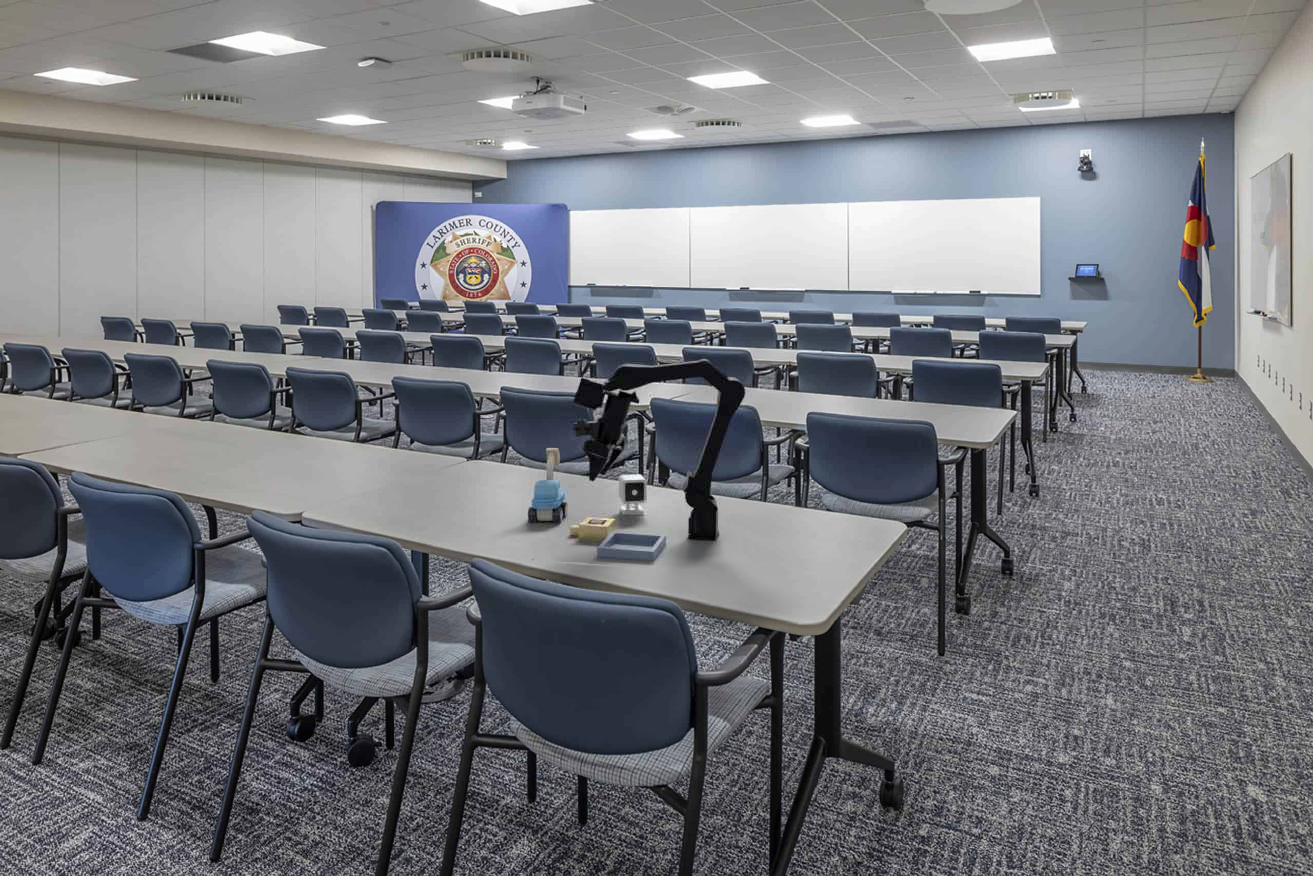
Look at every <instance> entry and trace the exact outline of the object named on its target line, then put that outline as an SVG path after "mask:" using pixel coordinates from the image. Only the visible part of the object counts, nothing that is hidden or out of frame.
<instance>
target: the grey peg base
mask: <svg viewBox="0 0 1313 876" xmlns="http://www.w3.org/2000/svg"><path fill="white" fill-rule="evenodd" d="M604 523H605V520H594V519H593V520H592V521H591V522H590V523H589V524H600V525H603V524H604ZM573 541H578V542H579V541H581V542H582V541H583V542H592V543H593V542H597V543H602V542H603V541H600V540H585V539H579V536H575V538H574V539H573Z"/></svg>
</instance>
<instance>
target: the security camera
mask: <svg viewBox="0 0 1313 876" xmlns="http://www.w3.org/2000/svg"><path fill="white" fill-rule="evenodd" d="M647 484H648V483H647V480H646V479H645V477H644V476H643V475H642V474H639V473H638V474H621V475H619V476H618V497H619V499H620V500H621V502H622V504H624V505H620V506H619V511H620V513H621V512H622V513H621V515H622V514H623V515H622V516H634V515H636V516H645V512H644V508H643V507H642V505H639V504H644V503H647V496H648V495H647V486H648V485H647ZM630 504H631V506H630ZM632 504H634V505H632Z"/></svg>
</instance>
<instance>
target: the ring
mask: <svg viewBox="0 0 1313 876" xmlns="http://www.w3.org/2000/svg"><path fill="white" fill-rule="evenodd" d="M593 519H594V520H605V523H604V524H603V525H600V524H589V523H590V522H591V521H592V520H593ZM612 532H616V519H615V518H606V517H604V518H603V517H591V516H590V517H588V516H587V517H586V518H585V519H583V521H581V522H580V523H579V524H573V525H571V526H569V533H570V534H569V535H570V536H575V537H577V536H579V539H585V540H600V541H604V540H605V539H606V538H607V537H608V536H609V535H610V534H611V533H612Z"/></svg>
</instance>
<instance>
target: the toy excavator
mask: <svg viewBox="0 0 1313 876" xmlns="http://www.w3.org/2000/svg"><path fill="white" fill-rule="evenodd" d="M545 452H546V454H545V455H546V465H545V466H546V467H545V468H546V470H545V471H546V480H537V481H536V482H535V485H534V490H533V491H534V492H533V498H532V499H531V506H529V507H528V510H527V521H528V523H537V522H542V521H543V522H549V521H550V522H551V521H552V522H553V524H561V523H562V522H563V518H566V517H567V515H568V502H567V501H566V502H565V492H564V491H560V490H559V489H560V487H561V483H560V481H559V480H556V479H555V480H554V478H555V477H554V466H559V465H560V463H561V462H560V461H561V455H560V450H559V448H558V447H557V448H556V447H547V448H546V449H545Z"/></svg>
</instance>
